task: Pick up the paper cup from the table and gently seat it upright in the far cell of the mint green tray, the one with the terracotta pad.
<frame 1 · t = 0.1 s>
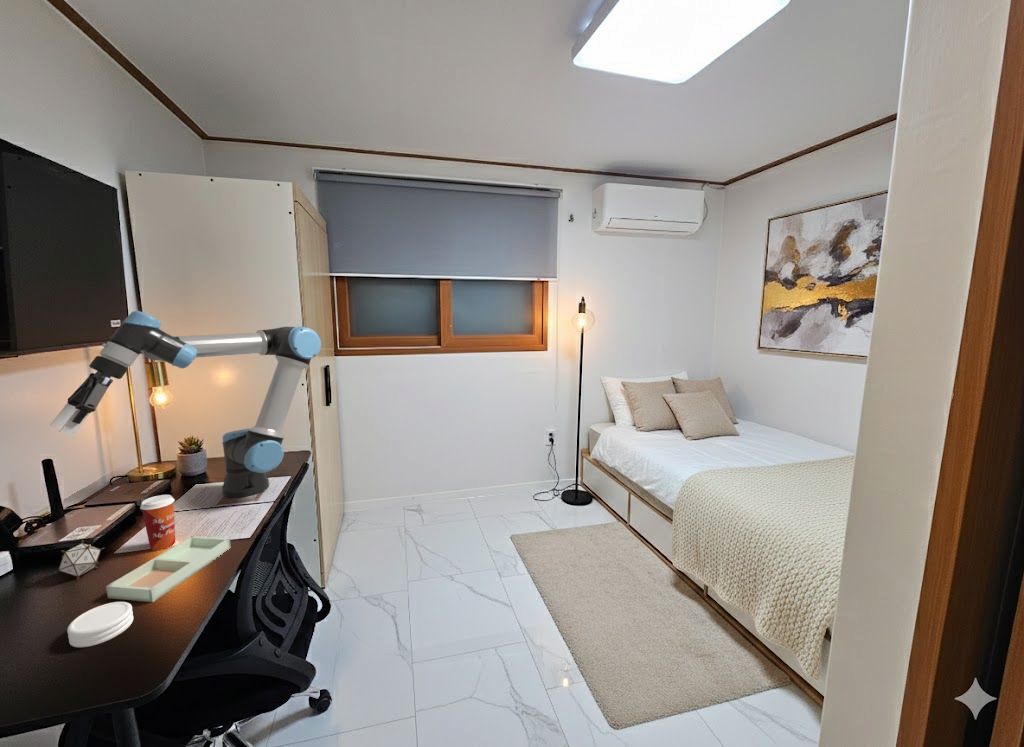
hand: (60, 430, 116), 36 cm above the table, tool tilted 35°, fingers open, 13 cm apart
paper cup: (163, 546, 127), on the table
game die: (82, 574, 113), on the table
coaster: (103, 632, 93), on the table
mint green tray: (175, 571, 114), on the table
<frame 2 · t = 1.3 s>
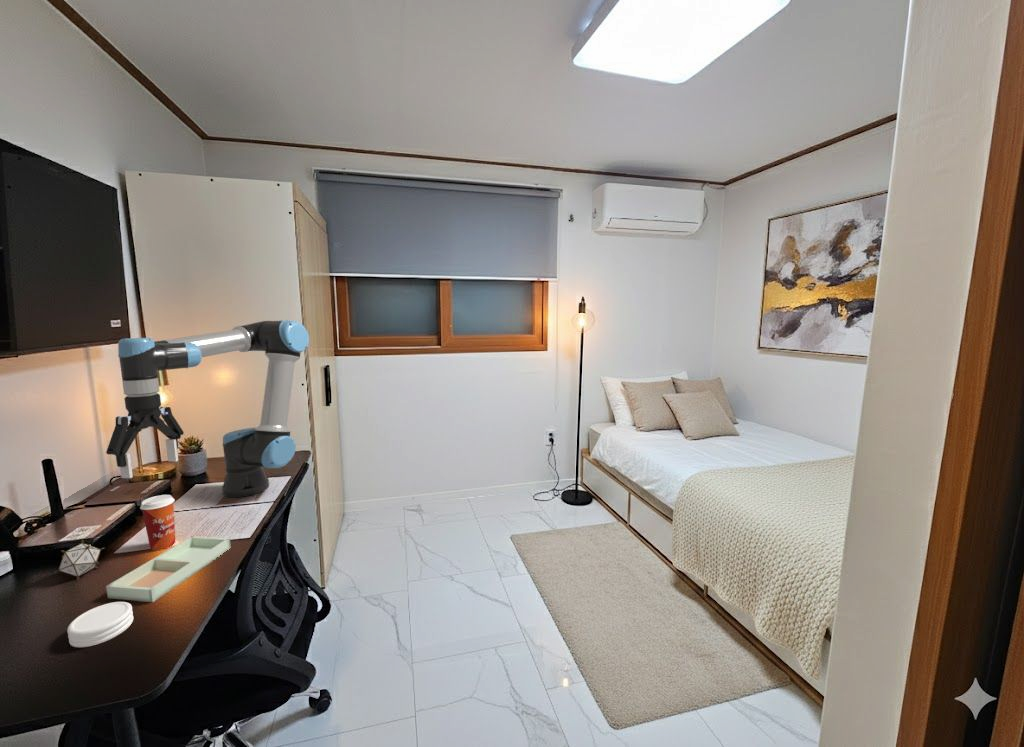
hand: (151, 469, 123), 23 cm above the table, tool pointing down, fingers open, 13 cm apart
nothing on the table moved.
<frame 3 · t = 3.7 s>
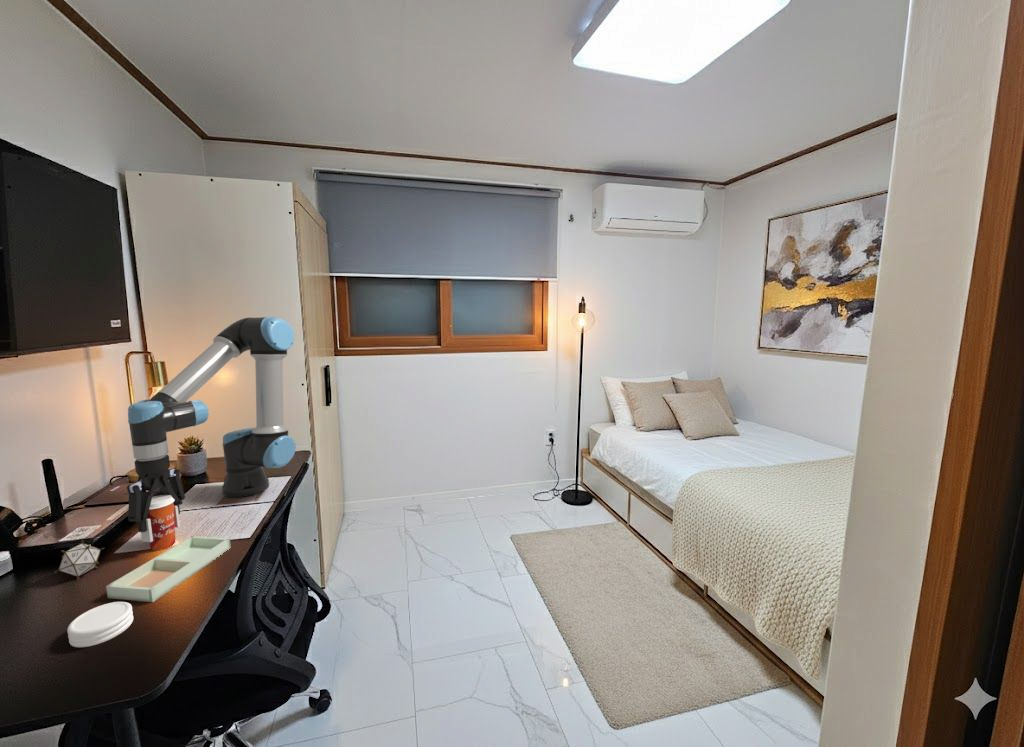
hand: (161, 533, 126), 4 cm above the table, tool pointing down, fingers closed on paper cup, 8 cm apart
paper cup: (163, 546, 127), on the table, touching gripper
everything else where it was.
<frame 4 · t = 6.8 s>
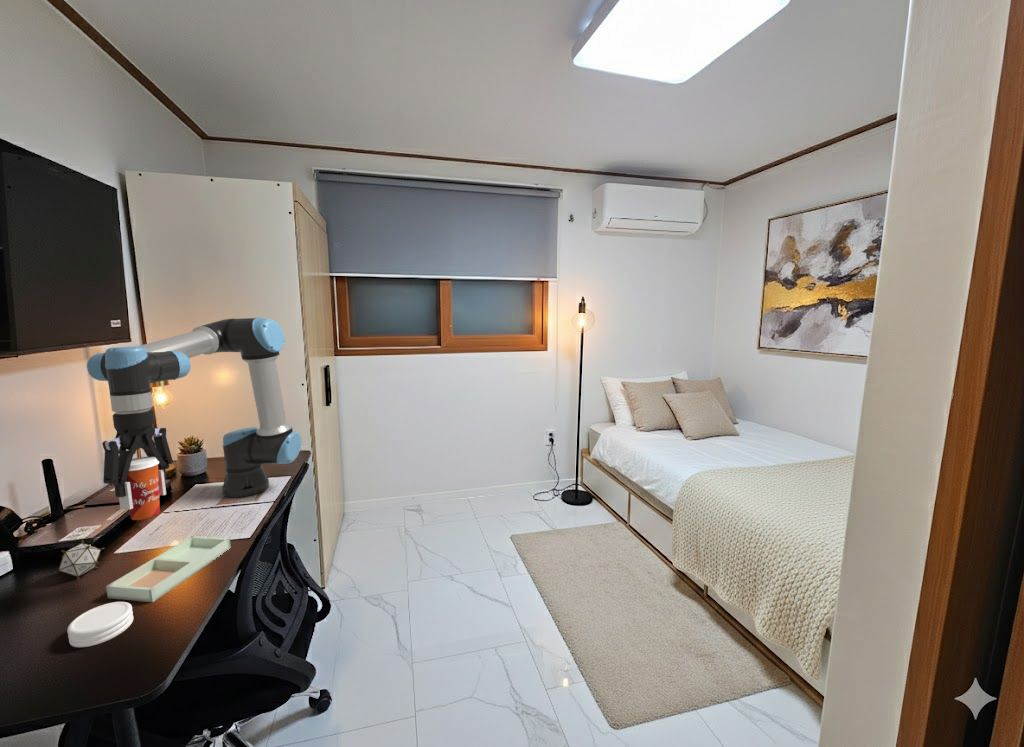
hand: (144, 501, 109), 20 cm above the table, tool pointing down, fingers closed on paper cup, 8 cm apart
paper cup: (146, 515, 109), point 16 cm above the table, touching gripper
everything else where it was.
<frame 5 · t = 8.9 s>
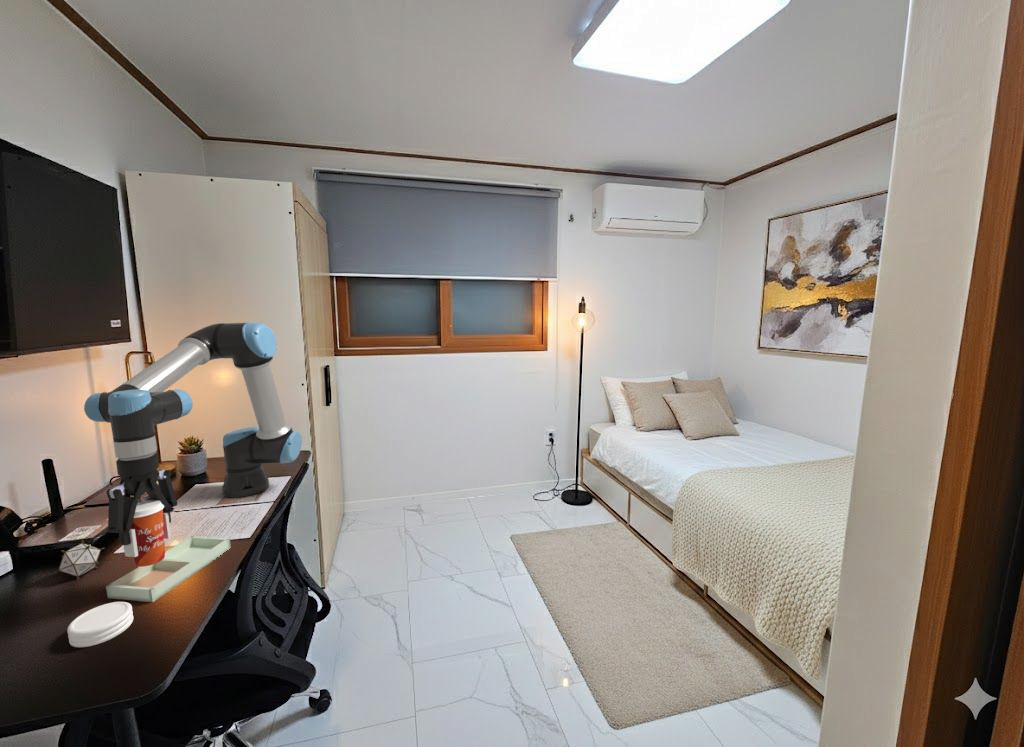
hand: (149, 546, 107), 10 cm above the table, tool pointing down, fingers closed on paper cup, 8 cm apart
paper cup: (150, 560, 107), point 6 cm above the table, touching gripper
everything else where it was.
when the fingers open (6 cm above the table, at t = 10.2 s): paper cup drops 1 cm, resting on mint green tray.
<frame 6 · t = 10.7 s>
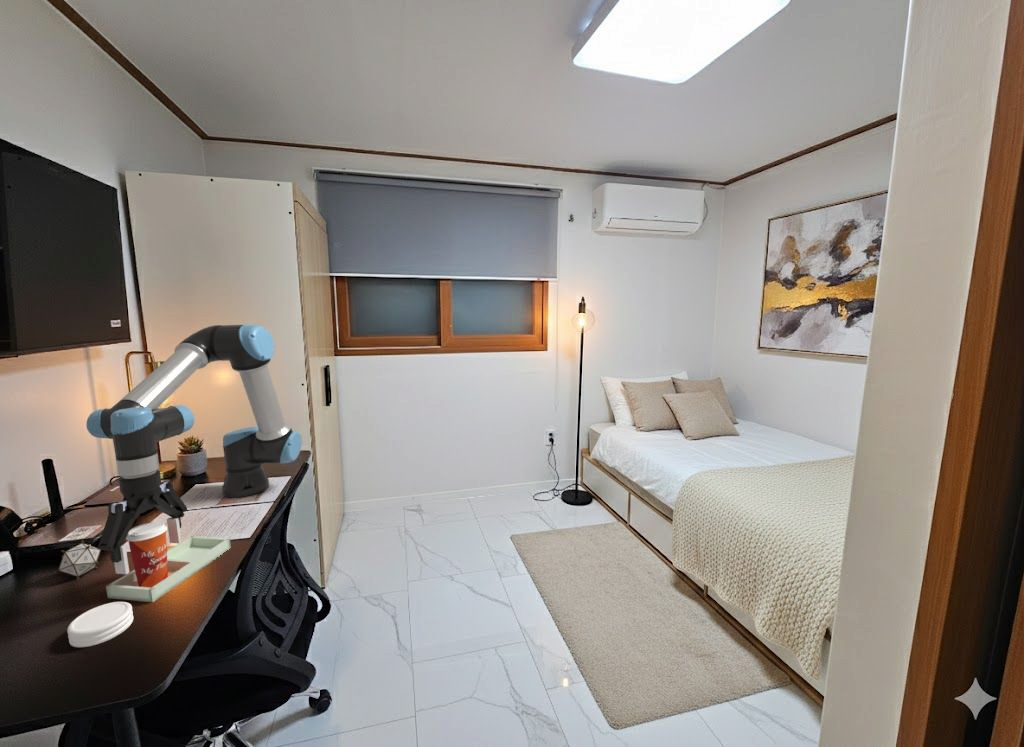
hand: (150, 556, 107), 7 cm above the table, tool pointing down, fingers open, 13 cm apart
paper cup: (153, 582, 108), point 1 cm above the table, touching mint green tray
everything else where it was.
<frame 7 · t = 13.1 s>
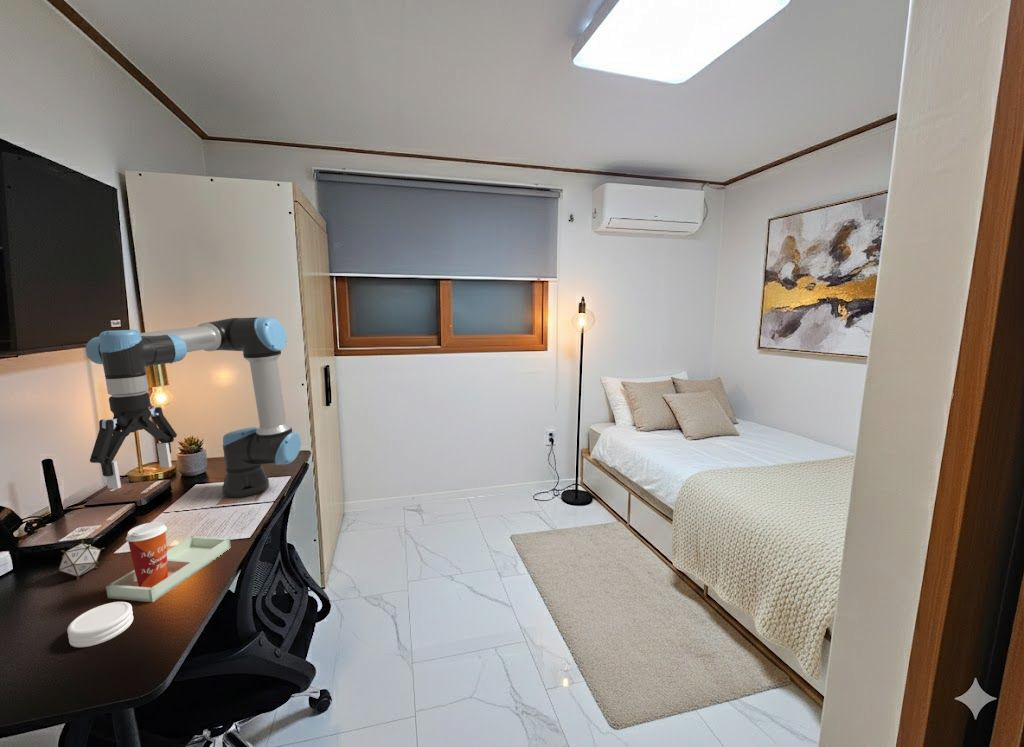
hand: (141, 476, 110), 25 cm above the table, tool pointing down, fingers open, 13 cm apart
nothing on the table moved.
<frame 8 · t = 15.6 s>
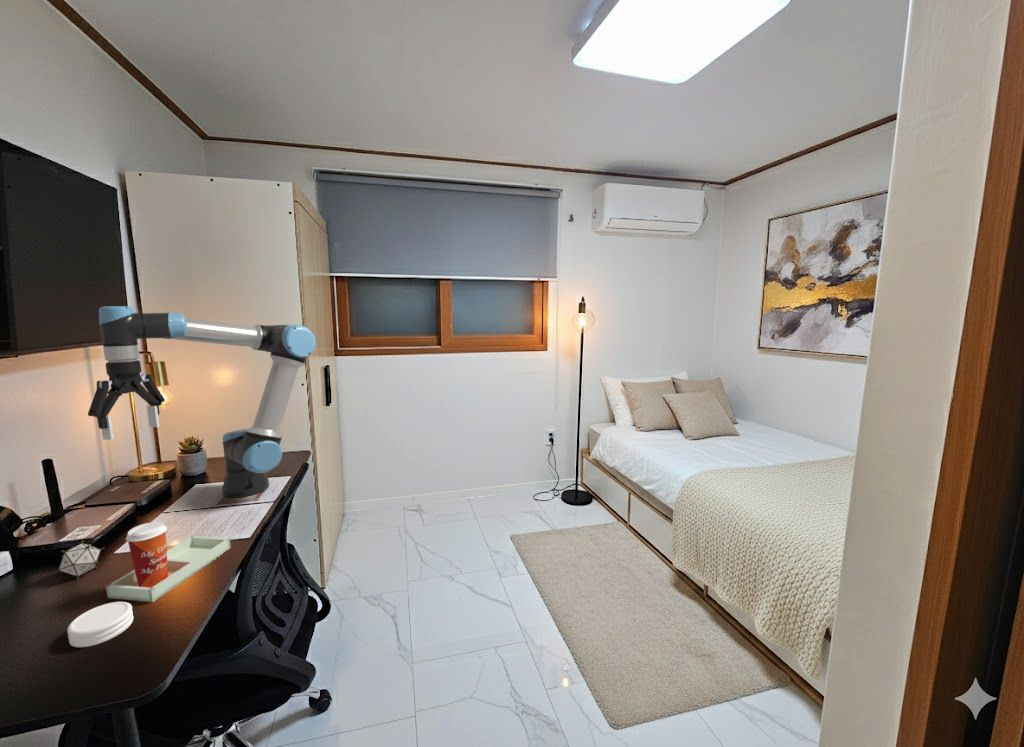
hand: (132, 432, 129), 32 cm above the table, tool pointing down, fingers open, 13 cm apart
nothing on the table moved.
at the end: paper cup 0.1 cm from the target spot on the mint green tray, point 0.5 cm above the mint green tray's base; paper cup tilted 0°; the gripper is holding nothing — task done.
